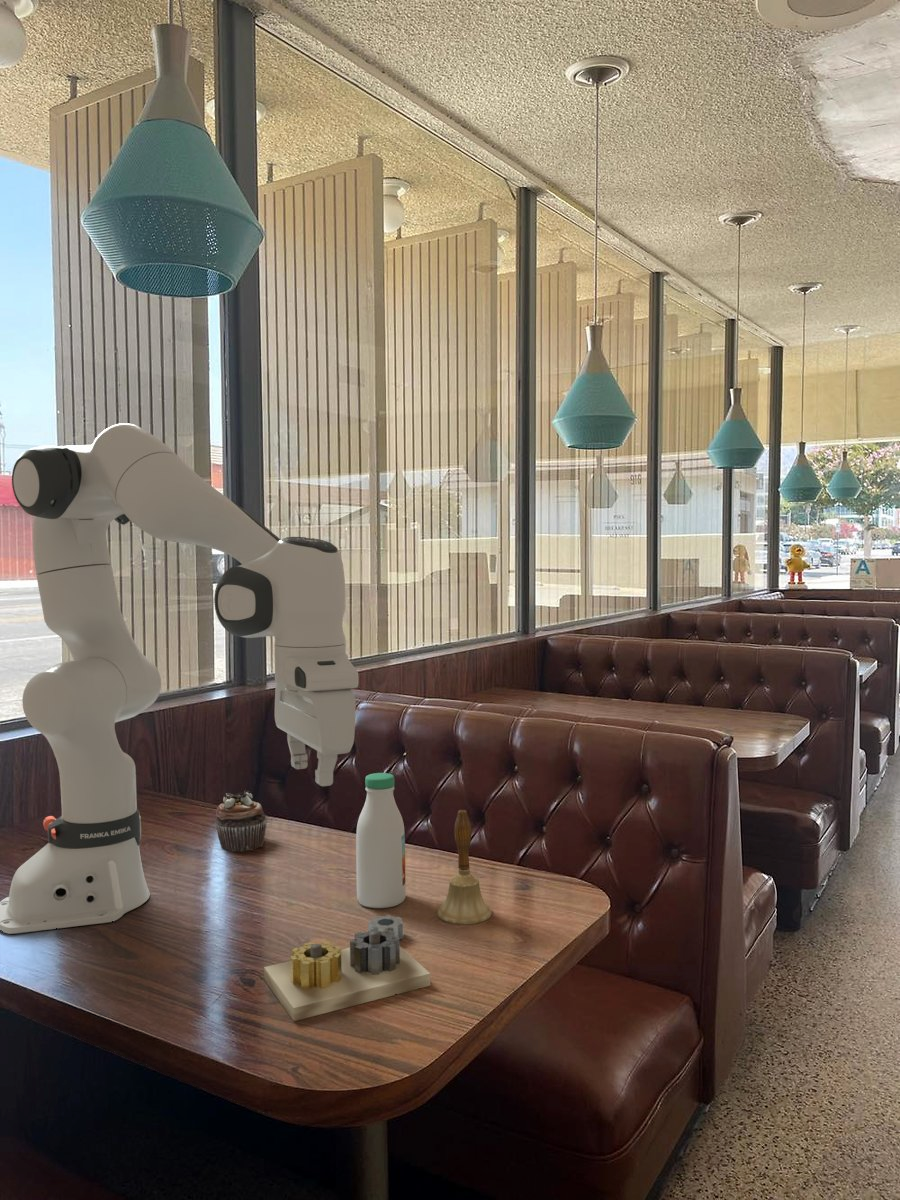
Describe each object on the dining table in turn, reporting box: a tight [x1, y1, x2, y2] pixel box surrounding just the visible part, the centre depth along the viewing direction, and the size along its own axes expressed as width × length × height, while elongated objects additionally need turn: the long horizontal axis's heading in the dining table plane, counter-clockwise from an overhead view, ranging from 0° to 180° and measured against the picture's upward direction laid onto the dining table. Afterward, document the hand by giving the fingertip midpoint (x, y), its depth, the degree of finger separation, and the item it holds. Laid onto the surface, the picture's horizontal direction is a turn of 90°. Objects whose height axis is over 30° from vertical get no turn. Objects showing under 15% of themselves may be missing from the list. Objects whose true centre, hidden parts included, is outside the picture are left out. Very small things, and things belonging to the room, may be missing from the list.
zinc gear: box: [367, 914, 405, 940], centre depth 129 cm, size 5×5×2 cm
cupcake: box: [214, 789, 268, 852], centre depth 170 cm, size 10×10×10 cm
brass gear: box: [289, 941, 342, 990], centre depth 114 cm, size 6×6×3 cm
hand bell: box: [436, 809, 493, 926], centre depth 137 cm, size 8×8×16 cm
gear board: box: [263, 931, 431, 1022], centre depth 115 cm, size 18×12×6 cm, turn 118°
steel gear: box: [349, 929, 401, 975], centre depth 117 cm, size 6×6×3 cm
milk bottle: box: [355, 772, 407, 909], centre depth 142 cm, size 8×8×20 cm
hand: (311, 776), depth 114 cm, fingers open, 8 cm apart
